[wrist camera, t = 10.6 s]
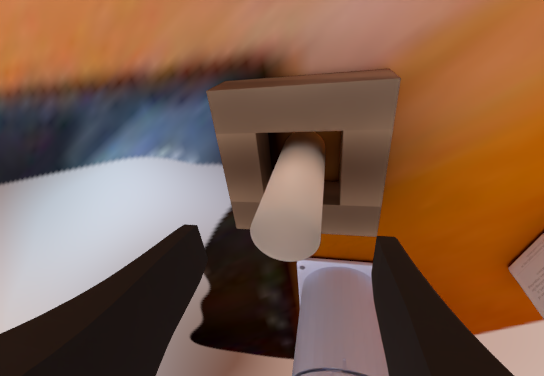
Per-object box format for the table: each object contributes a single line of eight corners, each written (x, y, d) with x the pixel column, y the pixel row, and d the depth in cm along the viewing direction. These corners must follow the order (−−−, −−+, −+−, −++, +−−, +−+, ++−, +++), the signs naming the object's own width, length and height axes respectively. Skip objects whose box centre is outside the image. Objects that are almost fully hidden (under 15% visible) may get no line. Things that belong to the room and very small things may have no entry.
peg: (325, 168, 19) (320, 264, 11) (285, 168, 19) (255, 258, 12) (326, 129, 17) (320, 209, 10) (282, 130, 18) (245, 206, 10)
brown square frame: (371, 210, 20) (376, 236, 17) (247, 205, 22) (236, 228, 20) (389, 69, 15) (400, 78, 12) (225, 81, 17) (206, 91, 14)
